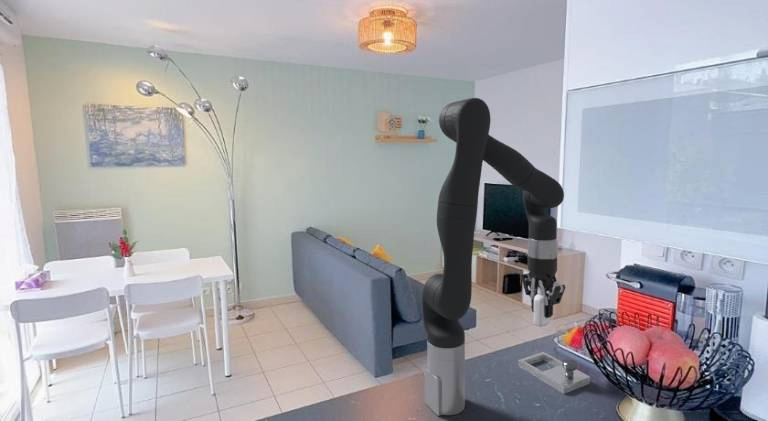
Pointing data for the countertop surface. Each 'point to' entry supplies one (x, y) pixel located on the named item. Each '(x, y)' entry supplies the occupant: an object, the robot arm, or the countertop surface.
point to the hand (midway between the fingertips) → (541, 314)
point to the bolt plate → (556, 372)
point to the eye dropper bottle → (540, 310)
